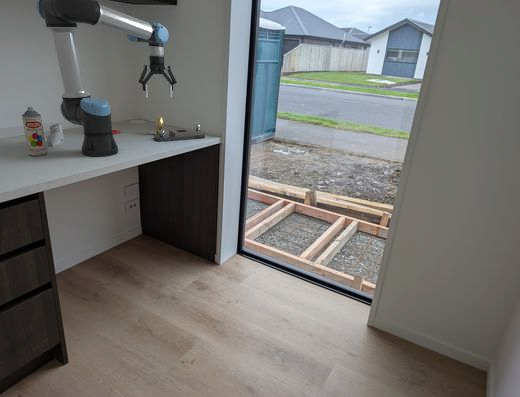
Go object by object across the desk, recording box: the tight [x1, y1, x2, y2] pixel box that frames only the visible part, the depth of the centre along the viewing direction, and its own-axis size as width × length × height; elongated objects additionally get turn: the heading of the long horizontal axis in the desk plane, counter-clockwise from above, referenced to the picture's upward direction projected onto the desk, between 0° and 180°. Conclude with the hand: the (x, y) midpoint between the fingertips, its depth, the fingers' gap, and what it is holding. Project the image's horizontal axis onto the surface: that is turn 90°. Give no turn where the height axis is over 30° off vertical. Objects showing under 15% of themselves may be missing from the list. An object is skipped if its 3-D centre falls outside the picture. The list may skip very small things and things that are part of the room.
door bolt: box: [153, 123, 206, 143], centre depth 199 cm, size 26×9×7 cm, turn 124°
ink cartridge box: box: [45, 122, 65, 148], centre depth 171 cm, size 2×11×10 cm, turn 1°
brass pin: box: [155, 116, 165, 135], centre depth 204 cm, size 4×4×10 cm
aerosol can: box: [21, 106, 48, 158], centre depth 152 cm, size 7×7×20 cm
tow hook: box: [112, 129, 121, 136], centre depth 202 cm, size 8×13×9 cm
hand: (158, 97), depth 198 cm, fingers open, 13 cm apart
